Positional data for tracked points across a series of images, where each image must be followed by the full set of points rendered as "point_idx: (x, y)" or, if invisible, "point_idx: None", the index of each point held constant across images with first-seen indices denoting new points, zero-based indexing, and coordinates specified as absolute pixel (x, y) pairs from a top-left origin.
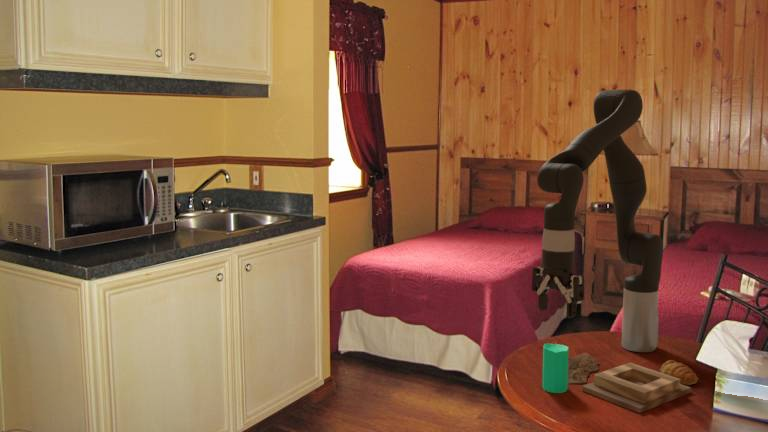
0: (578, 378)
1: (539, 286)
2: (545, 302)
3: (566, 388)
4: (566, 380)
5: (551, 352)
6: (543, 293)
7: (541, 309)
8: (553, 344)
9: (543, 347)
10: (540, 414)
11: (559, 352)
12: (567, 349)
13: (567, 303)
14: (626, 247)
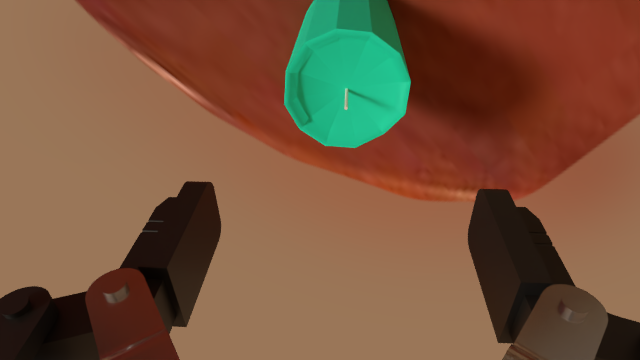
0: None
1: (47, 353)
2: (198, 237)
3: (392, 15)
4: (395, 26)
5: (366, 139)
6: (165, 322)
7: (219, 234)
8: (300, 60)
9: (305, 130)
10: (443, 197)
11: (396, 119)
12: (404, 68)
13: (505, 339)
14: None
